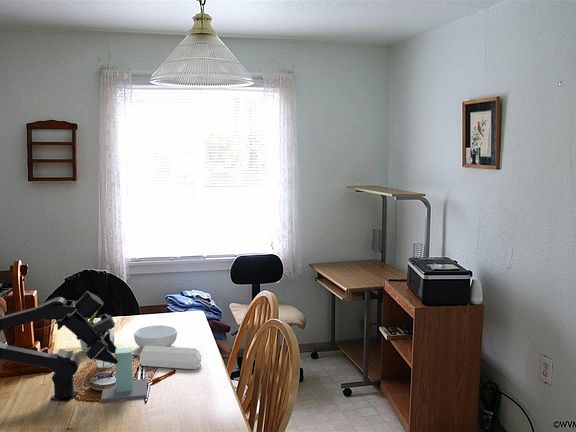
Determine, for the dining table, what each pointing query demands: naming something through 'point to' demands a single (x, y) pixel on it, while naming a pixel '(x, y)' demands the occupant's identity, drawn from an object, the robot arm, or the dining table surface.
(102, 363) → the beer glass
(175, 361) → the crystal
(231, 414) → the dining table surface
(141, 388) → the rubber mat
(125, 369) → the teal block
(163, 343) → the cereal bowl
